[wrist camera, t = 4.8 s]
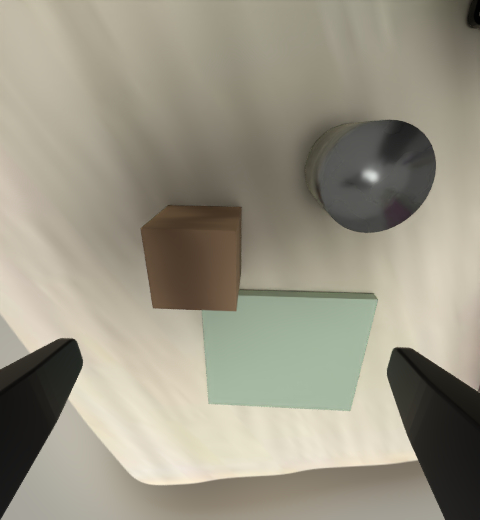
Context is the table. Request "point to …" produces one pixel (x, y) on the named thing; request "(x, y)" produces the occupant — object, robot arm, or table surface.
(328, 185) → the metal cylinder
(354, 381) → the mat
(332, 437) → the table surface
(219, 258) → the walnut block
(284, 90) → the table surface
